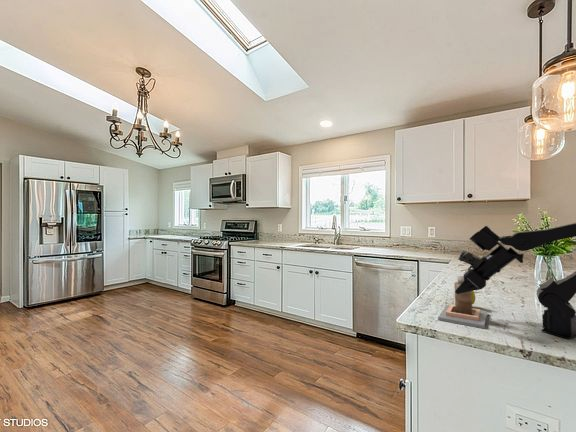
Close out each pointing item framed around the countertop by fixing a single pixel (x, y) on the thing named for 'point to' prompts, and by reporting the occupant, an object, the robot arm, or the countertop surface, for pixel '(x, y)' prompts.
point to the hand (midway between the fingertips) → (457, 289)
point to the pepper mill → (462, 299)
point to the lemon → (473, 297)
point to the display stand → (464, 317)
